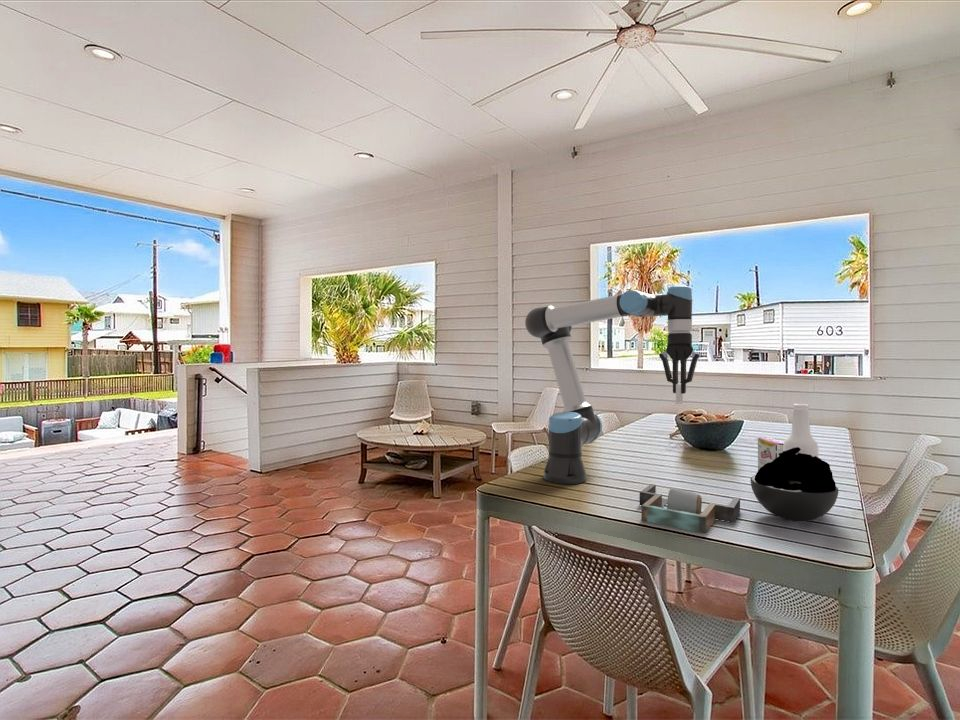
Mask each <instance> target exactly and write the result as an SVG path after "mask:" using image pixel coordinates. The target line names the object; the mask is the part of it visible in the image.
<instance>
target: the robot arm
mask: <svg viewBox="0 0 960 720" xmlns="http://www.w3.org/2000/svg"><path fill="white" fill-rule="evenodd" d="M692 292H693V291H692V288H691V287H690V286H688V285H674V286H669V287H668V288H667V291H666V292H665V293H656V294H650V293H647V292H643V291H641V290H637V289H630V290H627V291H624V292H623V293H621V294H614V295H610V296H605V297H601V298H596V299H595V298H594V299H590V300H586V301H582V302H581V301H580V302H576V303H570V304H566V305H563V306H557V307H554V306H553V305H548V306H542V307H535V308H533V309H531V310H530V311H529V312H528V313H527V315H526V318H525V321H524V324H525V328H526V330H527V332H528V334H529V335H531V336H532V337H534V338H537V339H540V341H541V345H542V347H543V348H545V349H547V351H548V352H547V353H548V356H549V358H550V361H551V365H552V369H553V372H554V376H555V378H556V382H557V386H558V390H559V393H560V396H561V397H560V398H561V400H562V403H563V407H564V409H563V411H562V412H556V413H554V414H552V415H550V416H549V418H548V426H547V428H548V458H547V461H546V464H545V467H544V470H543V479H544V480H545V481H546V482H549V483H554V484H559V485H560V484H562V485H575V484H576V485H577V484H581V483H585V482H586V481H587V471H586V468H585V465H584V461H583V459H582V455H583V453H582V452H583V451H582V450H583V448H582V446H584V445H588V444H592V443H593V442H594V441H596V440H598V439H599V438H600V436H601V434H602V432H603V422H602V420H601V418H600V416H599V414H596V413H595V412H594V407H593V405H592V404H591V403H588V401H587V400H586V395H585V392H584V389H583V385H582V383H581V379H580V376H579V373H578V369H577V366H576V362H575V360H574V356H573V353H572V349H571V346H570V342H571V341H572V335H571V331H572V328H573V326H578V325H583V324H588V323H595V322H599V321H606V320H611V319H617V318H621V317H622V318H623V317H628V316H634V317H635V318H646V317H648V318H649V317H660V316H661V317H662V316H663V317H665V316H667V332H668V334H667V346H666V348H665V351H663V352H662V353H659V354H658V356H659V357H660V360H661V361H662V365H663V370H664V373H665V377H666V380H667V383H668V382H669V383H671V384H672V393H673V394H675V405H676V404H679V405H680V404H683V402H684V401H683V400H684V399H683V397H684V395H685V394H686V392H687V383H692V381H693V377H694V376H695V375H694V373H695V370H696V367H697V363H698V360H699V359H700V357H701V354H700V353H697V352H696V351H695V350H694V348H693V345H692V343H693V335H692V333H691V332H692V331H693V319H692V318H693V317H692V316H693V293H692ZM668 356H669V357H670V359H671V363H672V372H671V368H670V364H669V361H668V360H669V359H668ZM690 356H691V358H692V359H691V361H690V364H689V369H688V373H687V360H688V359H689V358H690ZM679 362H680V363H679ZM679 364H680V382H679ZM683 394H684V395H683Z"/></svg>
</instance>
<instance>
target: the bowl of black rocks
mask: <svg viewBox="0 0 960 720" xmlns="http://www.w3.org/2000/svg"><path fill="white" fill-rule="evenodd" d="M800 450H801V449H800V448H799V447H796V448H792V449H789V450H787V451H783V452H782V453H779V455H780V456H779V457H777V458H775V459H774V460H773V461H772V462H769V463H766V464H764V466H762V467H761V468H760V469H759V470H758V469H757V472H756V473H755V475H753V476H751V477H750V486H751V489H752V492H753V494H754V496H755V498H756V500H757V502H759V504H760V505H761V506H762V507H763V508H764V509H765V510H766V511H768V512H769V513H771V514H772V515H774V516H776V517H778V518H779V519H783V520H786V521H791V522H797V523H799V522H800V523H805V522H810V521H815V520H817V519H820V518H821V517H823V516H825V515H826V514H828V513H829V511H831V509H833V507H834V505H835V504H836V501H837V499H838V496H839V488H838V487H837V486H836V481H835V479H834V476H833V470H832V469H831V465H830V464H829V463H828V462H827V461H825V460H823V459H821V458H820V457H819V456H818V457H816V456H814V457H812V456H811V455H809V454H801V453H798V452H799V451H800ZM796 453H797V454H796Z"/></svg>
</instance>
